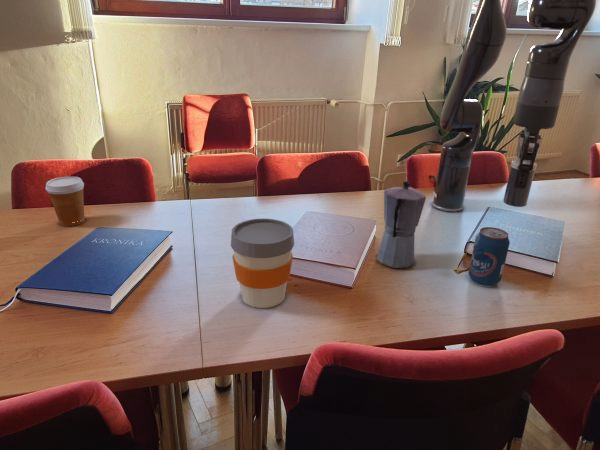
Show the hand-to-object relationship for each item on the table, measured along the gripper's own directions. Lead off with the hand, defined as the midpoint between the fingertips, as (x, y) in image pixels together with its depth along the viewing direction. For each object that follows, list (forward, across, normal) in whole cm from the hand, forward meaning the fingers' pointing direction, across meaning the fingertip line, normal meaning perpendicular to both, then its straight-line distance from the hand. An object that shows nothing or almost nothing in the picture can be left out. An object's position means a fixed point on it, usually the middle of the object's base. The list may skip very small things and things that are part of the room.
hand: (519, 183), depth 94 cm
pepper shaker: (+4, 0, 0) cm, 4 cm away
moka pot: (+22, -4, +23) cm, 32 cm away
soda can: (+22, -4, +3) cm, 23 cm away
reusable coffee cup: (+22, -30, +45) cm, 59 cm away
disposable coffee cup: (+23, -20, +111) cm, 115 cm away
